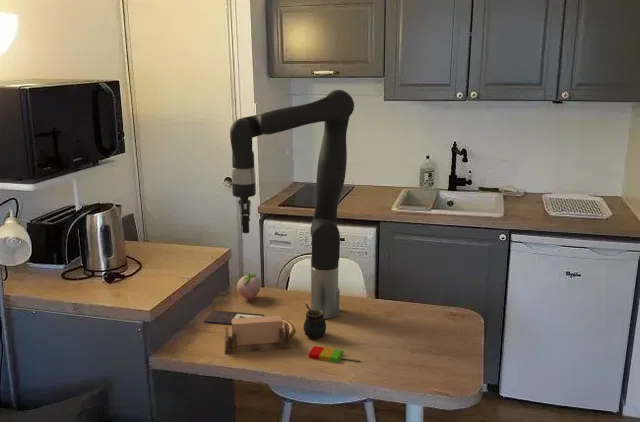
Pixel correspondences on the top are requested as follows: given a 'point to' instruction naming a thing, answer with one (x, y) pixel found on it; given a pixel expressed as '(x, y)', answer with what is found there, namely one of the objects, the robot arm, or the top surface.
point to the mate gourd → (314, 324)
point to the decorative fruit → (249, 286)
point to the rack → (234, 348)
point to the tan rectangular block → (257, 329)
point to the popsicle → (328, 354)
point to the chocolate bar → (227, 317)
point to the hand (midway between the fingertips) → (245, 229)
